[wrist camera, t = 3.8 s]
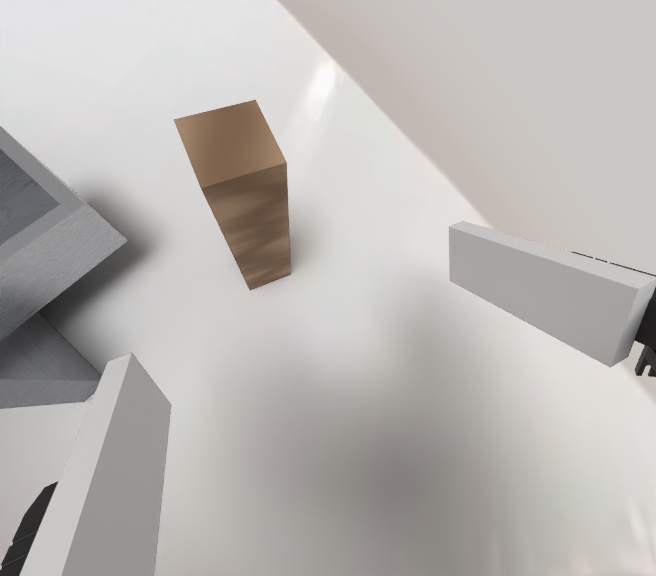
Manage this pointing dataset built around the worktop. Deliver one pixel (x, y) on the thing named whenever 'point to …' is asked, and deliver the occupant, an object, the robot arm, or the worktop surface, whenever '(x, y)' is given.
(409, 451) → the worktop surface
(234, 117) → the post
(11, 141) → the cup bracket
